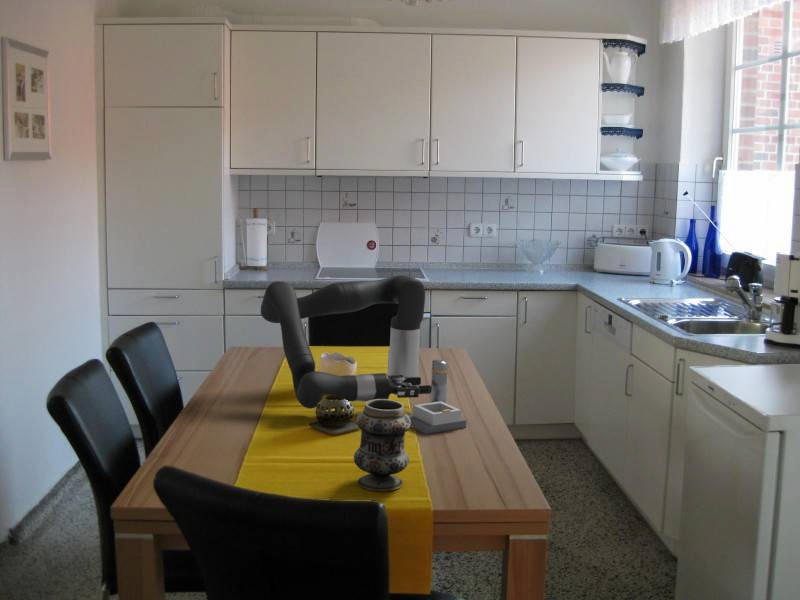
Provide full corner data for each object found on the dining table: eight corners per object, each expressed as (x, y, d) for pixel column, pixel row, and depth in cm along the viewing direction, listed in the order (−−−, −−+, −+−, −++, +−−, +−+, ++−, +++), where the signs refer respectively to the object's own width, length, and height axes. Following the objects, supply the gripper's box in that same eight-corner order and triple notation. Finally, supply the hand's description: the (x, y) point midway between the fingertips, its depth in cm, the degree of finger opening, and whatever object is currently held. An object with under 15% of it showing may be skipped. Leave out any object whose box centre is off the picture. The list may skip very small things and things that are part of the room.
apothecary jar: (418, 488, 191) (422, 408, 188) (370, 497, 185) (374, 415, 182) (389, 470, 201) (392, 393, 198) (342, 478, 195) (345, 399, 192)
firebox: (402, 422, 237) (403, 402, 236) (441, 416, 244) (442, 396, 243) (425, 434, 228) (427, 413, 227) (466, 427, 235) (467, 407, 234)
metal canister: (426, 408, 250) (428, 360, 248) (439, 406, 253) (442, 358, 250) (435, 412, 247) (438, 364, 244) (449, 410, 249) (451, 362, 247)
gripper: (362, 393, 249) (416, 390, 254) (377, 408, 236) (434, 405, 241) (363, 367, 248) (418, 365, 253) (378, 381, 234) (435, 378, 240)
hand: (425, 385), depth 247 cm, fingers open, 8 cm apart
